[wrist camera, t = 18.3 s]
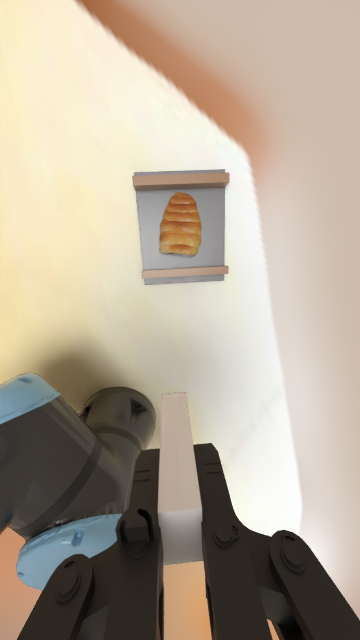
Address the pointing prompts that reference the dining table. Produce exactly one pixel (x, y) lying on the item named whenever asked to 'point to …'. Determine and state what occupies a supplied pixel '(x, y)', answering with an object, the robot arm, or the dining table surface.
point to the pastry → (180, 227)
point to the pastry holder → (211, 209)
